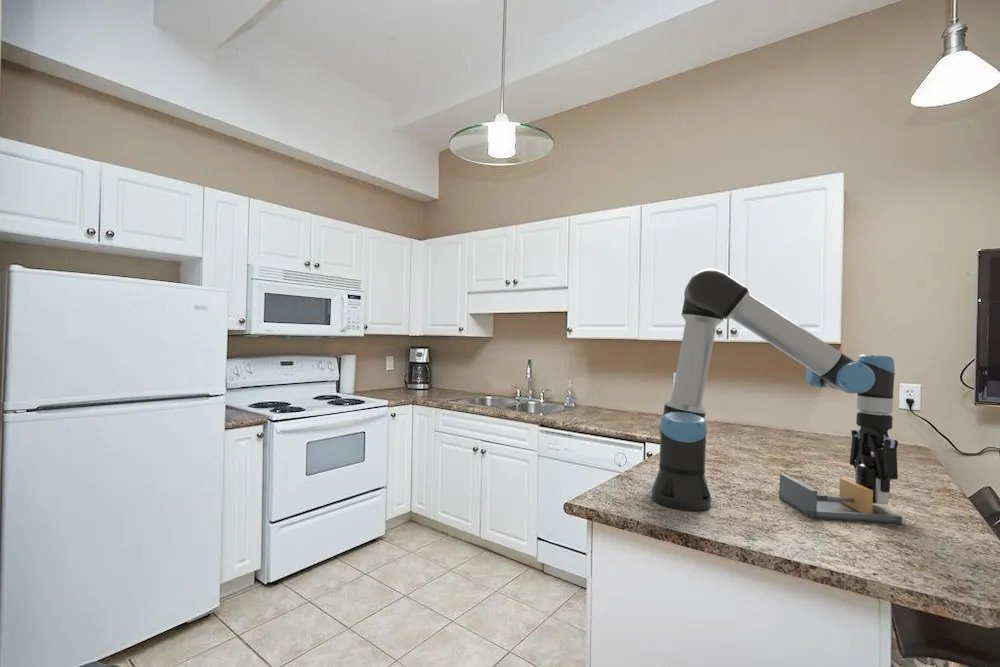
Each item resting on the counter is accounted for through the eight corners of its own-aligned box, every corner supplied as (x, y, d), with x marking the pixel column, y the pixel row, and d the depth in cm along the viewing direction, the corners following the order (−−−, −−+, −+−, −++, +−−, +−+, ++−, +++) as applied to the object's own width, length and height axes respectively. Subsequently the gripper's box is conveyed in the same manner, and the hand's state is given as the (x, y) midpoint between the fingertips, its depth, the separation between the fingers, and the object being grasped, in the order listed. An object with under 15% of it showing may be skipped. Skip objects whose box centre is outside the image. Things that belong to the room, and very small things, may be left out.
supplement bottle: (878, 497, 128) (879, 453, 128) (893, 506, 121) (895, 459, 121) (849, 494, 129) (851, 451, 129) (863, 503, 122) (865, 457, 122)
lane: (810, 518, 119) (811, 490, 119) (779, 498, 134) (780, 473, 134) (901, 523, 117) (902, 495, 117) (860, 503, 132) (860, 478, 132)
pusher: (841, 513, 120) (842, 488, 120) (816, 499, 131) (817, 476, 131) (872, 515, 120) (873, 490, 120) (844, 501, 130) (845, 478, 130)
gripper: (919, 419, 115) (916, 513, 115) (863, 408, 135) (860, 488, 134) (887, 418, 115) (884, 511, 115) (835, 406, 135) (832, 486, 135)
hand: (871, 498), depth 125 cm, fingers closed on supplement bottle, 7 cm apart
